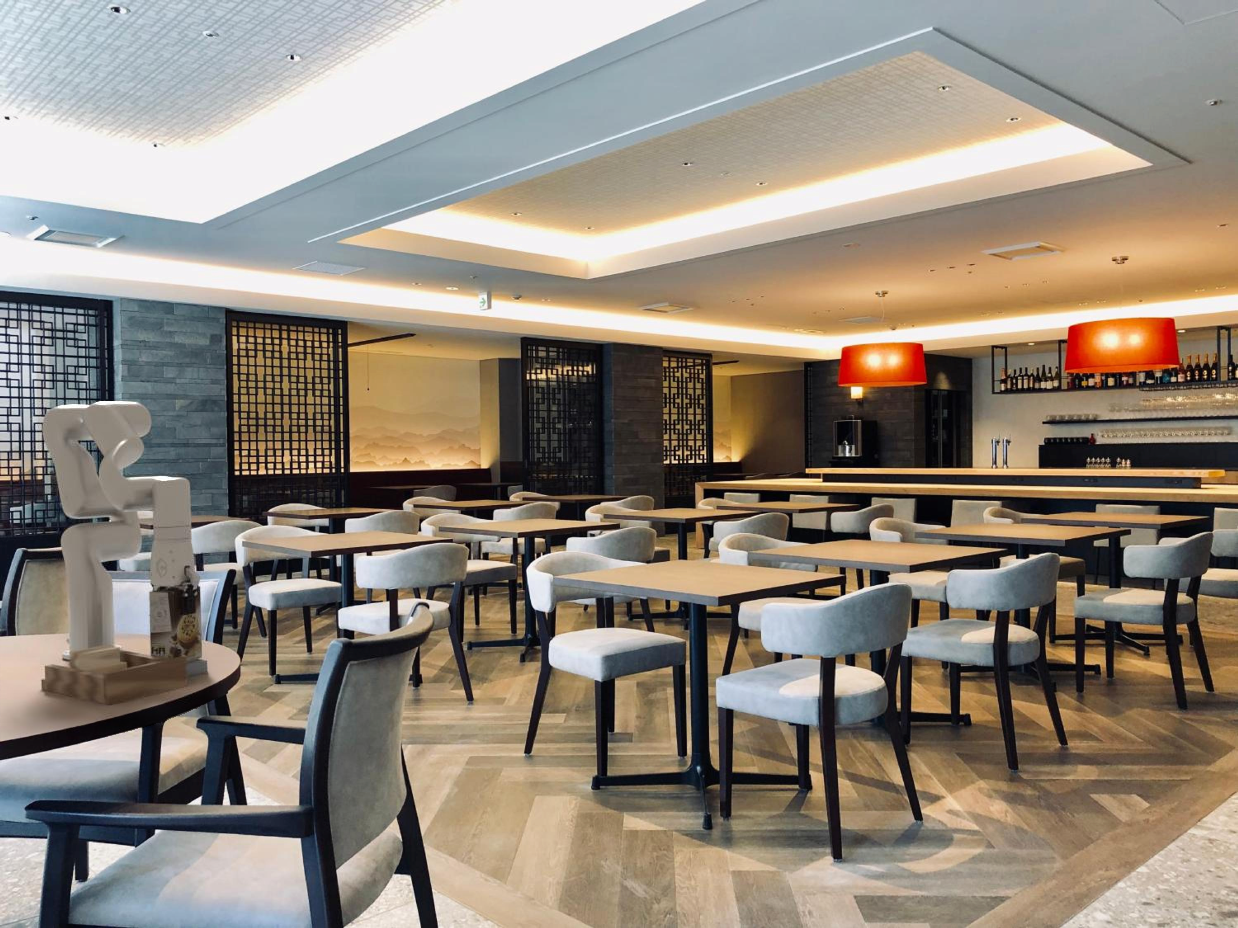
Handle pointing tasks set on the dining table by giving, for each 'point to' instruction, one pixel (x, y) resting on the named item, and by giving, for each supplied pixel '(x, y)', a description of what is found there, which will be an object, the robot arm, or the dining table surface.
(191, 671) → the trivet
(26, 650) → the dining table surface
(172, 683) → the tray
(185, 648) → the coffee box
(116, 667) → the offcut bottom
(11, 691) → the dining table surface
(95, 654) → the offcut top
